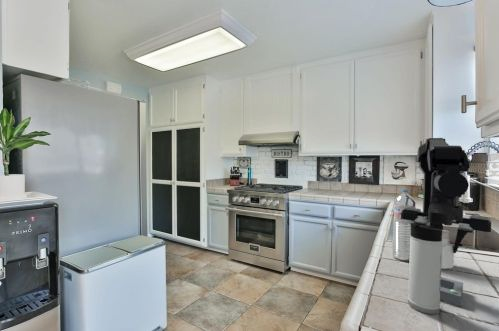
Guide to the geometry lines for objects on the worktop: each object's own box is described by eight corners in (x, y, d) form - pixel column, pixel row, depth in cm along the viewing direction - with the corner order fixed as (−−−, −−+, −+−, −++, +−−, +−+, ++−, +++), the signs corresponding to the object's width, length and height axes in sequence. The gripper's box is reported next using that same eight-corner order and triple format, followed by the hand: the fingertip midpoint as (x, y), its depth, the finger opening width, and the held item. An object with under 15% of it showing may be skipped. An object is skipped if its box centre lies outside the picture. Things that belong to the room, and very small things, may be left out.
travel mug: (400, 300, 64) (403, 220, 64) (425, 299, 64) (428, 220, 64) (418, 315, 58) (422, 227, 57) (446, 314, 58) (449, 227, 58)
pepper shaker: (428, 263, 70) (429, 229, 70) (440, 262, 71) (441, 228, 71) (442, 269, 66) (443, 233, 66) (454, 268, 67) (455, 232, 67)
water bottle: (416, 263, 88) (417, 191, 88) (393, 259, 91) (395, 189, 91) (412, 256, 95) (414, 189, 95) (391, 253, 97) (393, 188, 97)
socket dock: (422, 280, 75) (423, 271, 75) (462, 291, 69) (463, 281, 69) (416, 293, 68) (416, 282, 68) (460, 306, 61) (461, 294, 61)
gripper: (397, 191, 69) (395, 248, 69) (493, 199, 56) (490, 270, 56) (406, 188, 77) (404, 240, 77) (491, 195, 64) (489, 256, 64)
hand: (441, 250), depth 69 cm, fingers closed on pepper shaker, 5 cm apart
